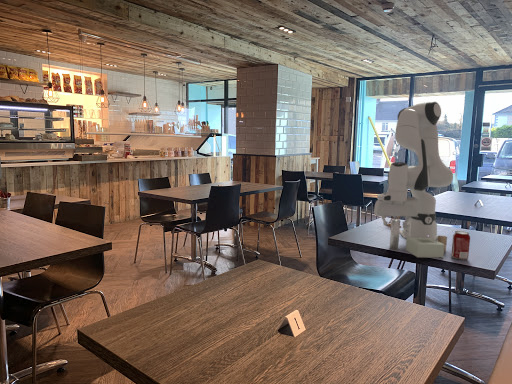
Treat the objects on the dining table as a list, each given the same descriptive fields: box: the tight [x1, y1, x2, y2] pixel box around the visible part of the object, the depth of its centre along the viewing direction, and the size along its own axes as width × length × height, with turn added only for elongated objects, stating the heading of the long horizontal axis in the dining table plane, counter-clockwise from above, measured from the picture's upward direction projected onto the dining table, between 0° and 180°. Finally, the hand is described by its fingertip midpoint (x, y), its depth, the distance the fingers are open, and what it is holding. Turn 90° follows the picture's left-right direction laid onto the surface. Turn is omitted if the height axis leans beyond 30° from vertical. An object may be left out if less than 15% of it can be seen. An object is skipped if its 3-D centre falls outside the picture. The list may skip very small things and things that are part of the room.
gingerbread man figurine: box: [384, 216, 402, 229], centre depth 238 cm, size 9×4×12 cm, turn 35°
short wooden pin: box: [436, 235, 448, 253], centre depth 187 cm, size 4×4×7 cm
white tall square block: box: [389, 218, 401, 251], centre depth 189 cm, size 4×4×14 cm
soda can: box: [450, 230, 471, 261], centre depth 175 cm, size 7×7×12 cm
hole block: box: [405, 238, 445, 258], centre depth 182 cm, size 12×12×6 cm
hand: (395, 225), depth 188 cm, fingers open, 8 cm apart
